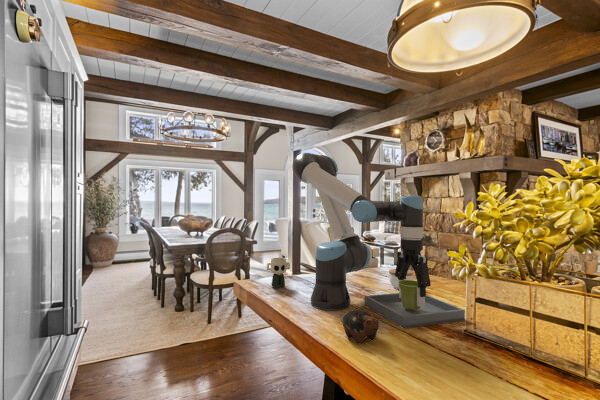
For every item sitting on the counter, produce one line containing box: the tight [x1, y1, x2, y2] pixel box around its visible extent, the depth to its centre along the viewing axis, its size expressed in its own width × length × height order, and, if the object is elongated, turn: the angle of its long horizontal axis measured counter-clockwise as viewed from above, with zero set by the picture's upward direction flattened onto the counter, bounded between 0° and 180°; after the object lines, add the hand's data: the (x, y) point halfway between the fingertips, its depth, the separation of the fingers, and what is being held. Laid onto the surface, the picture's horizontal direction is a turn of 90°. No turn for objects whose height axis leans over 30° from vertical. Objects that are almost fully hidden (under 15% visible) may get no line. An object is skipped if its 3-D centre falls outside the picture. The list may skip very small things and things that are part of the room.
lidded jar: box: [388, 268, 414, 290], centre depth 149 cm, size 11×11×9 cm
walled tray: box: [364, 292, 466, 329], centre depth 115 cm, size 24×24×4 cm
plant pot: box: [398, 280, 421, 310], centre depth 115 cm, size 9×9×9 cm
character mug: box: [266, 257, 291, 288], centre depth 148 cm, size 11×7×13 cm, turn 106°
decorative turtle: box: [341, 309, 380, 345], centre depth 93 cm, size 10×15×8 cm, turn 32°
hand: (411, 301), depth 115 cm, fingers closed on plant pot, 9 cm apart
